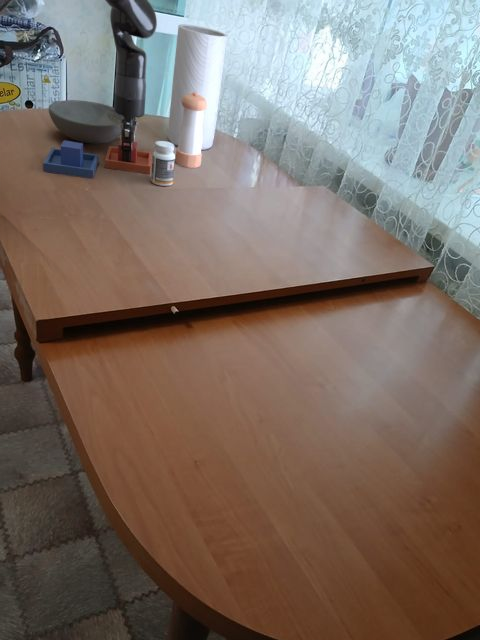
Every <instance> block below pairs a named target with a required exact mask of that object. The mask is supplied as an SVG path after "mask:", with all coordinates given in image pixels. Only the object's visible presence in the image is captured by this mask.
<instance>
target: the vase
mask: <svg viewBox="0 0 480 640" xmlns="http://www.w3.org/2000/svg"><path fill="white" fill-rule="evenodd" d="M177 28H178V29H177V34H176V35H177V37H176V46H175V56H174V64H173V65H174V66H173V74H172V84H171V95H170V96H171V97H170V105H169V106H170V107H169V115H168V129H167V139H168V141H169V142H170V143H172V144H174V146H177V147H178V139H179V133H180V130H181V126H182V120H183V111H184V107H183V105H182V98H183V97H184V96H185V95H187V94H193V92H197V93H198V94H199V95H200V96H202V97H203V98H205V99H206V101H207V105H208V106H207V108H206V110H204V114H203V123H202V147H201V151H206V150H208V149H210V148H212V147H213V145H214V139H215V133H216V126H217V120H218V119H217V118H218V111H219V103H220V96H221V88H222V80H223V71H224V65H225V64H224V63H225V56H226V49H227V39H228V34H226V33H224V32H222V31H219V30H216V29H214V28H208V27H204V26H200V25H194V24H193V25H192V24H185V23H183V24H178V26H177Z"/></svg>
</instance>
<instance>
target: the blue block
mask: <svg viewBox="0 0 480 640" xmlns="http://www.w3.org/2000/svg"><path fill="white" fill-rule="evenodd" d="M60 149H61V165H68V166H75V167H81V166H82V164H83V153H84V142H78V141H70V140H63V141H62V143H61V145H60Z"/></svg>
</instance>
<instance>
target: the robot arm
mask: <svg viewBox="0 0 480 640" xmlns="http://www.w3.org/2000/svg"><path fill="white" fill-rule="evenodd" d="M13 2H14V0H0V14H2V13H3V12H4V11H5V10H6V9H7V8H8V7H9V6H10V5H11V4H12V3H13ZM105 2H106V3H107V5H108V6H109V7H110V13H109V21H110V27H111V31H112V35H113V36H112V37H113V40H114V41H113V42H114V46H115V51H116V52H115V53H116V68H115V69H116V70H115V71H116V72H115V79H114V99H113V101H114V103H113V107H114V110H115V112H116V113H117V114H119V115H123V116H124V119H121V124H120V128H121V135H120V140H122V147H121V149H122V151H123V153H122V162H129V163H131V152H132V143H133V142H135V140H136V139H135V138H136V136H137V135H136V134H137V127H138V121H137V120H136V119H137V118H139V119H140V118H142V117H144V116H145V114H146V113H145V111H146V110H145V109H146V95H147V79H146V77H147V61H148V60H147V59H148V57H147V53H146V51H145V50H144V49H142V48H141V47H139V46H137V45H136V43H135V42H134V38H133V37H135V38H139V39H149V38H151V37H153V35H155V33H156V31H157V27H158V20H157V14H156V11H155V9H154V7H153V5H152V4H151V2H150V1H149V0H105ZM125 143H129V144H130V146H124V144H125Z"/></svg>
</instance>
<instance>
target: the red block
mask: <svg viewBox="0 0 480 640" xmlns="http://www.w3.org/2000/svg"><path fill="white" fill-rule="evenodd" d="M124 146H130V144H129V143H125V144H124ZM117 147H118V161H122V153H123V151H122V149H121V147H122V140H121V139H119V142H118V145H117ZM137 150H138V142H137V141H134V142H133V143H132V152H131V163H136V160H137Z"/></svg>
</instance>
